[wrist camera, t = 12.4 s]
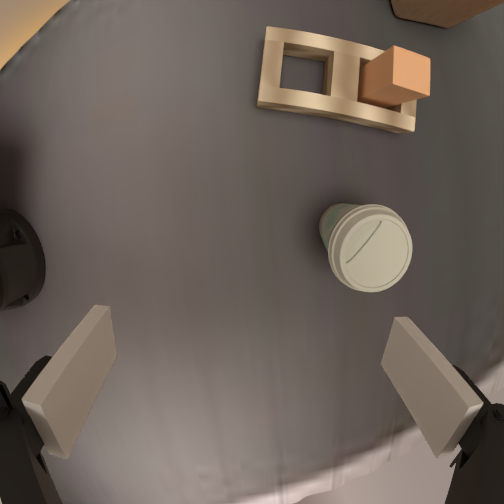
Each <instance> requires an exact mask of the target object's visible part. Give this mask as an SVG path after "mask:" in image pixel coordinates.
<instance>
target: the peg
mask: <svg viewBox="0 0 504 504" xmlns="http://www.w3.org/2000/svg"><path fill="white" fill-rule="evenodd" d="M428 96H430V58H427V57H425V56H422V55H419V54H417V53H414V52H411V51H409V50H406V49H403V48H400V47H397V46H392V47H391V48H389V49H388V50H386V51H385V52H383V53H382V54H380V55H379V56H377V57H376V58H374V59H373V60H371V61H370V62H369V63H367V64H366V65H364V66H363V67H361V68H360V69H359V82H358V95H357V102H360V103H364V104H368V105H373V106H376V107H380V108H388V107H391V106H394V105H398V104H402V103H405V102H409V101H413V100H416V99H420V98H424V97H428Z"/></svg>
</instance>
